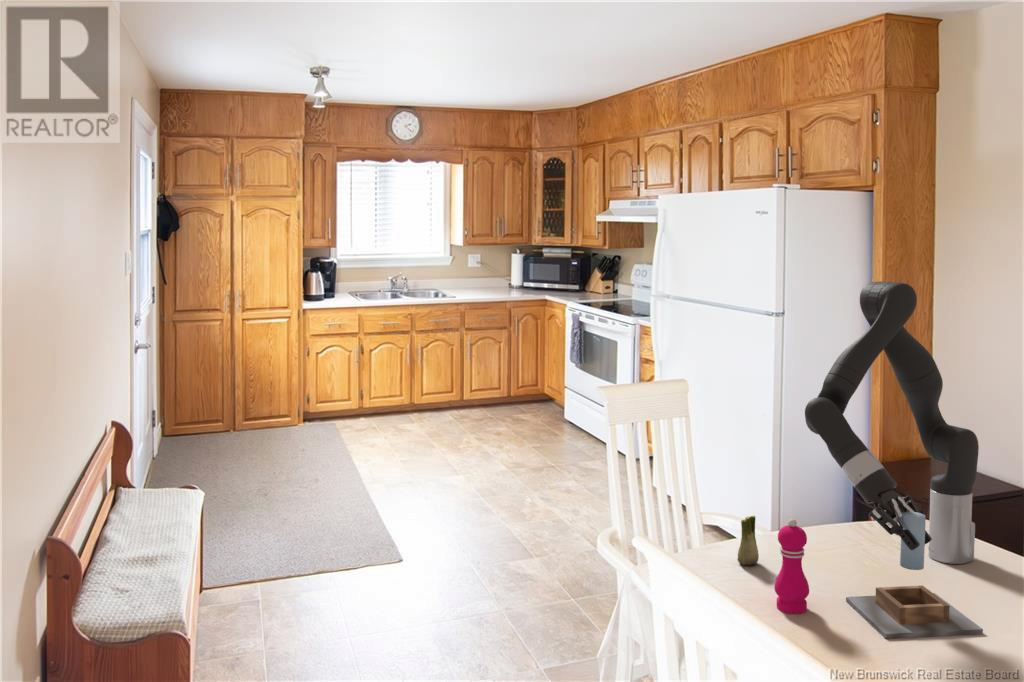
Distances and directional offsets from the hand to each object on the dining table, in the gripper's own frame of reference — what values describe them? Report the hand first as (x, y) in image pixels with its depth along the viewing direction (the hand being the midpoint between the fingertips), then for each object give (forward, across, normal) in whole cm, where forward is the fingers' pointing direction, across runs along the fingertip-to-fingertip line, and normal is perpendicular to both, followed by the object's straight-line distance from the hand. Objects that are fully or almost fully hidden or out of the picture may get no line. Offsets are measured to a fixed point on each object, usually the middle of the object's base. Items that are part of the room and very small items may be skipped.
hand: (921, 544), depth 176 cm
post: (+2, 0, +5) cm, 6 cm away
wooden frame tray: (+10, 0, +13) cm, 16 cm away
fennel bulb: (-18, 0, +42) cm, 46 cm away
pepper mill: (-3, -15, +26) cm, 30 cm away
